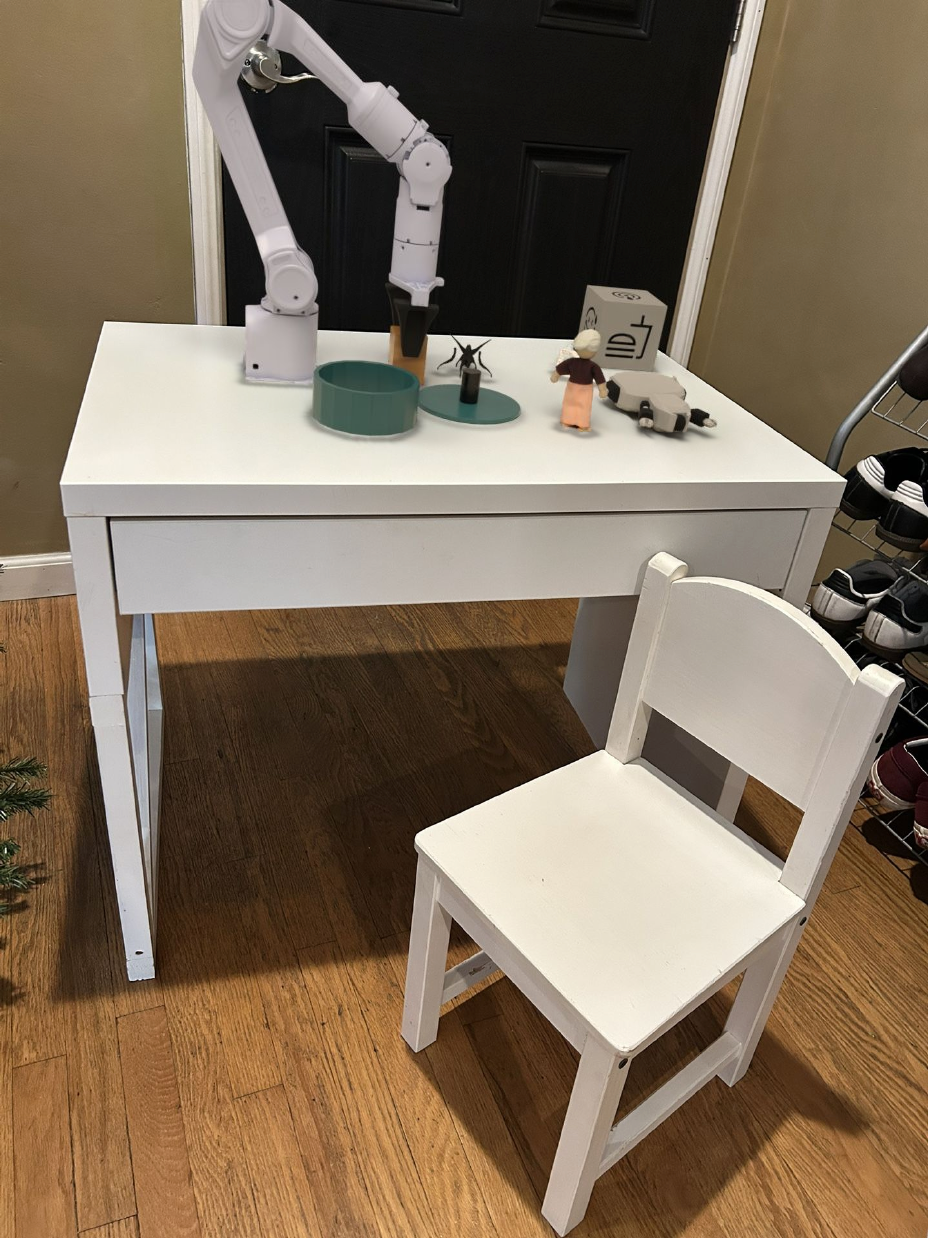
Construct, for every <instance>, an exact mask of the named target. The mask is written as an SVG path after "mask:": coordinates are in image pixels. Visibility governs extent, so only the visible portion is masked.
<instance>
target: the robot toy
mask: <svg viewBox="0 0 928 1238" xmlns="http://www.w3.org/2000/svg"><path fill="white" fill-rule="evenodd" d="M606 392H607V397H606V398H608V399H609V400H610V401H611V402H612V403H613V404H614V405H615V406H616V408H617V409H620V410H622V411H623V412H627V413H630V412H636V413H638V415H637V416H638V418H637V421H638V426H641V427H644V428H650V429H651V428H653V429H654V431H655V432H657V433H658V432H659V433H676V432H682V433H685V432H687V430H688V427H689V423H691V424H693V425H695V426H697V427H699V428H704V427H706V428H709V429H712V428H716V427H717V426H718V421H717V420H716V419H715V418H710V413H709V412H707V411H705V410H703V409H700V408H691V407H690V405H689V403H688V402H687V401H686V398H687V391H686V388H684V386H683V385H682V384H681V383H680V382H679V380H678V379H677V376H676V375H674V374H673V375H672V377H671V376H668V375H665V374H661V373H655V372H649V371H638V370H635V371H621V372H616V373H615V374H613V375H611V376H609V378H608V380H606Z"/></svg>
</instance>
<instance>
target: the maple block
mask: <svg viewBox="0 0 928 1238" xmlns="http://www.w3.org/2000/svg"><path fill="white" fill-rule="evenodd" d="M428 342H429V336H428V333H427V334H426V337H425V340H424V343H423V346H422V350H421V352H420V355H419V357H418V358H415V357H403V355H402V350H401V334H400V326H393V325H390V332H389V346H388V354H387V355H388V357H387V364H389V365H393V366H397V367H400V368H402V369H405V370H408V371H410V372H411V373H413V374H414V375H416V376H417V377H418V379H419V381H420V386H424V385H425V383H424V382H425V373H426V365H427V364H426V361H427V353H428Z"/></svg>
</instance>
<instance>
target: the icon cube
mask: <svg viewBox="0 0 928 1238" xmlns="http://www.w3.org/2000/svg"><path fill="white" fill-rule="evenodd" d="M667 310H668V305H666V304H665V303H664V302H662V301H661V300H660V299H658V298H657V297H656V296H654V295H653V294H652V293H650V291H648V290H643V289H634V288H633V289H632V288H622V287H611V286H610V287H609V286H601V285H589V284H587V285H586V290H585V295H584V301H583V307H582V312H581V317H580V323H579V328H578V334H579V333H580V332H583V331H584V330H588V329H592V330H595V331H597V332H598V333H599V334H600V337H601V339H600V342H601V343H600V344H599V347H598V350H597V353H596V355H595V356H594V357H593V358H591V359H589V360H591V361H593V362H595V363H596V364H598V365H599V366H600V368H601V369H616V370H617V369H618V370H628V371H629V370H630V371H641V372H654V367H655V364H656V360H657V354H658V351H659V347H660V343H661V342H660V341H661V338H662V334H663V333H662V332H663V330H664V329H663V328H664V324H665V321H666V315H667V312H668V311H667Z"/></svg>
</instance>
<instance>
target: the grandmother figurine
mask: <svg viewBox="0 0 928 1238" xmlns="http://www.w3.org/2000/svg"><path fill="white" fill-rule="evenodd" d="M600 339H601V337H600V334H599V333H598V332H597V331H595V330H592V329H588V330H584V331H583V332H580V333H579V332H578V334H577V335H576V336H575V337H574V339H573V343H571V346H572V347H573V349H575V351H576V353H577V354H578V355H579V358H576V357H573V358H571V357H569V358H566V359H564V360H563V362H561V363H560V364H558V365H557V366H556V365H555V370H554V371H553V373H552V375H550V378H549V380H550V382H551V383H554V384H556V383H557V382H558V381H559V380H560V378H561V377H563V376H562V375H570V377H568V379H567V381H566V386H565V390H564V395H563V399H562V406H561V415H560V421H561V423H560V425H561V426H562V427H564V428H569V427H572V426H577V428H576V431H579V432H590V431H592V430H593V428H592V426H590V422H591V416H592V405H593V399H594V390H595V389H594V383H595V384H596V386H597V389H598V396H599V398H600V399H606V398H608V397H607V392H606V382H607V380H606V377H605V374H604V372H603V369H602V368H601V367H600V366H599V365H598V364H596V363H595V362H593V361H591V360H589V359H591V358H593V357H594V356H595V355H596V353H597V350H598V347H599V344H600V343H601V342H600ZM593 379H594V380H595V382H593Z"/></svg>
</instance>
